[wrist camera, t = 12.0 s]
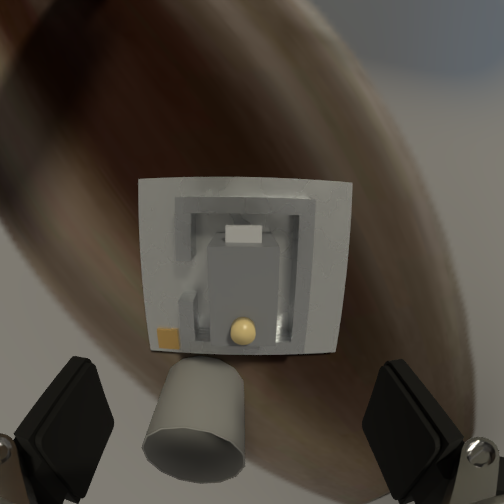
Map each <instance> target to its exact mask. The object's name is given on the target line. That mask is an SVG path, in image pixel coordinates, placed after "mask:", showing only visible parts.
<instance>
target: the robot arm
mask: <svg viewBox="0 0 504 504" xmlns="http://www.w3.org/2000/svg"><path fill="white" fill-rule="evenodd" d="M113 427H114V419H113V416H112V413H111V411H110V408H109V405H108V402H107V400H106V397H105V394H104V391H103V388H102V385H101V382H100V379H99V375H98V372H97V369H96V366H95V365H94V364H93V363H92V362H91V360H90V359H88V358H82V357H77V356H73V357H72V358H71V359H70V360H69V361H68V363H67V364H66V365H65V366H64V368H63V369H62V370H61V371H60V373H59V374H58V375H57V376H56V378H55V379H54V380H53V382H52V383H51V384H50V385H49V387H48V388H47V389H46V390H45V392H44V393H43V394H42V396H41V397H40V398H39V400H38V401H37V402H36V404H35V405H34V406H33V408H32V409H31V410H30V412H29V413H28V414H27V416H26V417H25V418H24V420H23V421H22V423H21V424H20V426H19V427H18V428H17V430H16V431H15V433H14V435H15V439H14V440H12V438H11V437H9V436H8V435H5V434H1V433H0V504H63V501H64V499H66V500H69V501H71V502H74V503H77V504H78V503H79V501H80V499H81V498H84V497H85V496H86V493H87V491H88V488H89V486H90V483H91V481H92V478H93V476H94V473H95V470H96V468H97V465H98V463H99V461H100V458H101V456H102V453H103V451H104V448H105V446H106V444H107V441H108V439H109V437H110V435H111V432H112V430H113ZM362 428H363V431H364V433H365V435H366V438H367V440H368V442H369V444H370V447H371V449H372V451H373V453H374V456H375V458H376V460H377V462H378V465H379V467H380V469H381V472H382V474H383V476H384V479H385V481H386V483H387V486H388V488H389V490H390V493H391V495H392V497H393V499H395V500H398V501H399V504H407V503H409V502H412V501H414V502H415V504H504V457H500V456H499V450H498V448H497V446H496V445H495V443H494V442H493V441H491V440H489V439H487V438H484V437H474V438H471V439H469V440H468V441H466V443H464V441H463V438H464V436H463V435H462V434H461V432H460V431H459V430H458V428H457V427H456V426H455V424H454V423H453V422H452V420H451V419H450V418H449V416H448V415H447V414H446V412H445V411H444V410H443V409H442V407H441V406H440V405H439V403H438V402H437V401H436V400H435V398H434V397H433V396H432V394H431V393H430V392H429V391H428V389H427V388H426V387H425V386H424V384H423V383H422V382H421V381H420V379H419V378H418V377H417V376H416V374H415V373H414V372H413V371H412V369H411V368H410V367H409V366H408V365H407V363H406V362H405V361H404V360H403V359H399V360H392V361H387V362H386V363H385V364H384V366H382V367H381V368H380V370H379V373H378V376H377V380H376V383H375V386H374V389H373V392H372V395H371V398H370V401H369V404H368V407H367V410H366V412H365V415H364V418H363V421H362Z"/></svg>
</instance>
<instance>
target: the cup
mask: <svg viewBox="0 0 504 504" xmlns="http://www.w3.org/2000/svg"><path fill="white" fill-rule="evenodd" d="M142 449H143V451H144V454H145V456H146V458H147V460H148V461H149V462H150V463H151V464H153V465H154V466H155V467H156V468H157V469H158V470H160V471H161V472H163V473H165V474H167V475H170V476H172V477H174V478H177V479H179V480H183V481H189V482H194V483H218V482H223V481H225V480H228V479H231V478H233V477H236V476H237V475H238V474H239V473H240V472H241V471H242V469H243V468H244V467H245V420H244V381H243V380H242V378H241V377H240V375H239V374H238V372H237V371H236V369H235V368H233V367H232V366H230V365H228V364H227V363H225V362H223V361H222V360H220V359H216V358H211V357H205V356H195V357H190V358H184V359H182V360H180V361H179V362H178V363H176V364H175V365H173V366H172V367H171V368H170V371H169V373H168V376H167V378H166V381H165V384H164V386H163V389H162V392H161V395H160V397H159V400H158V403H157V406H156V408H155V411H154V414H153V417H152V419H151V422H150V425H149V428H148V431H147V434H146V437H145V439H144V442H143V445H142Z"/></svg>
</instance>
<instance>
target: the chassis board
mask: <svg viewBox="0 0 504 504" xmlns="http://www.w3.org/2000/svg"><path fill="white" fill-rule="evenodd" d="M351 206H352V183H349V182H337V181H323V180H307V179H287V178H259V177H180V178H151V179H139V236H140V255H141V269H142V281H143V292H144V302H145V311H146V319H147V327H148V334H149V341H150V348H151V350H156V351H168V352H182V353H200V354H227V355H283V354H310V353H328V352H335V351H336V345H337V339H338V333H339V326H340V320H341V312H342V305H343V297H344V289H345V280H346V271H347V261H348V250H349V238H350V224H351ZM226 225H262V233H272V235H273V236H274V238H275V240H276V241H277V243H278V244H279V246H280V264H279V289H278V310H277V330H276V346H259V349H227V346H211V343H210V323H209V299H208V266H207V246H208V244H209V243H210V241H211V240H212V238H213V236H214V235H215V233H216V232H225V226H226Z"/></svg>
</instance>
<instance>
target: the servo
mask: <svg viewBox="0 0 504 504" xmlns="http://www.w3.org/2000/svg"><path fill="white" fill-rule="evenodd" d="M279 264H280V246H279V244H278V243H277V241H276V240H275V238H274V236H273V235H272V233H262V225H226V226H225V232H216V233H215V235H214V236H213V238H212V240H211V241H210V243H209V244H208V246H207V266H208V299H209V323H210V343H211V346H227V349H259V346H276V330H277V310H278V289H279Z"/></svg>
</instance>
